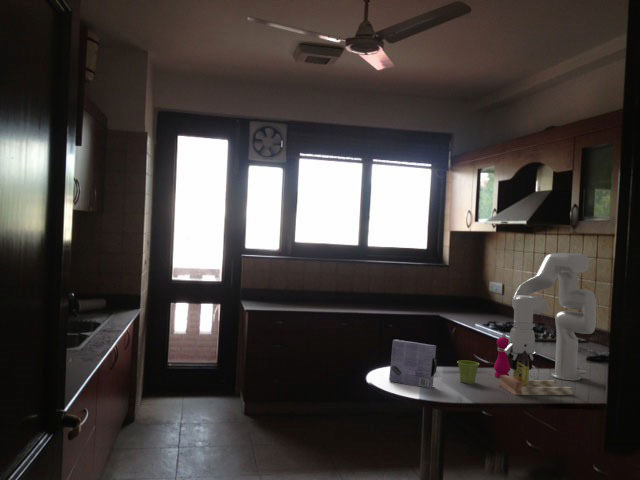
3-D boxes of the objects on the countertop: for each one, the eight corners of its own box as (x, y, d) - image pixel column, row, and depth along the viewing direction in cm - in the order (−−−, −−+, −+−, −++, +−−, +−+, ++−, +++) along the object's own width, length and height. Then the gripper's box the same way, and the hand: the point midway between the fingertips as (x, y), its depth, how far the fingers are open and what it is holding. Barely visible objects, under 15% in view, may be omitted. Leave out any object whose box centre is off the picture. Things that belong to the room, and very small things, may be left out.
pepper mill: (497, 374, 263) (499, 332, 263) (512, 377, 258) (514, 334, 259) (491, 376, 257) (493, 333, 258) (506, 379, 253) (508, 335, 253)
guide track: (554, 387, 243) (554, 375, 243) (572, 394, 231) (572, 382, 231) (499, 386, 238) (500, 375, 238) (514, 394, 226) (515, 382, 226)
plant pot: (452, 379, 247) (453, 360, 248) (471, 379, 250) (472, 360, 250) (462, 385, 238) (463, 364, 238) (482, 385, 240) (483, 364, 241)
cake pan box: (436, 386, 233) (438, 344, 233) (433, 389, 228) (435, 346, 229) (392, 379, 241) (394, 338, 242) (388, 381, 237) (390, 340, 237)
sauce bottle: (509, 387, 236) (510, 340, 236) (521, 387, 238) (522, 340, 238) (519, 392, 229) (521, 343, 229) (531, 391, 232) (533, 343, 232)
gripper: (536, 325, 239) (534, 367, 239) (499, 324, 236) (497, 367, 236) (546, 328, 232) (544, 371, 232) (508, 327, 228) (506, 371, 228)
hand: (521, 368), depth 234 cm, fingers closed on sauce bottle, 6 cm apart
